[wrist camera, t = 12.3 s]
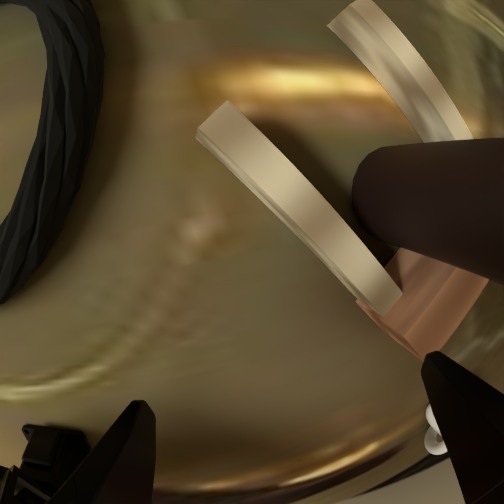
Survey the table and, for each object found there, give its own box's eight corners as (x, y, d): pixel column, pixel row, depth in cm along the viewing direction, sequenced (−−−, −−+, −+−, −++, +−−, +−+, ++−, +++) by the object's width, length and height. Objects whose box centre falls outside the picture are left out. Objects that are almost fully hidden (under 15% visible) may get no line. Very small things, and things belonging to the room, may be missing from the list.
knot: (472, 375, 29) (502, 397, 23) (446, 425, 30) (472, 449, 24) (434, 384, 27) (467, 413, 21) (407, 439, 28) (433, 469, 23)
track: (476, 199, 23) (527, 206, 17) (381, 329, 23) (427, 365, 17) (344, 13, 17) (387, -23, 11) (192, 141, 17) (196, 121, 12)
